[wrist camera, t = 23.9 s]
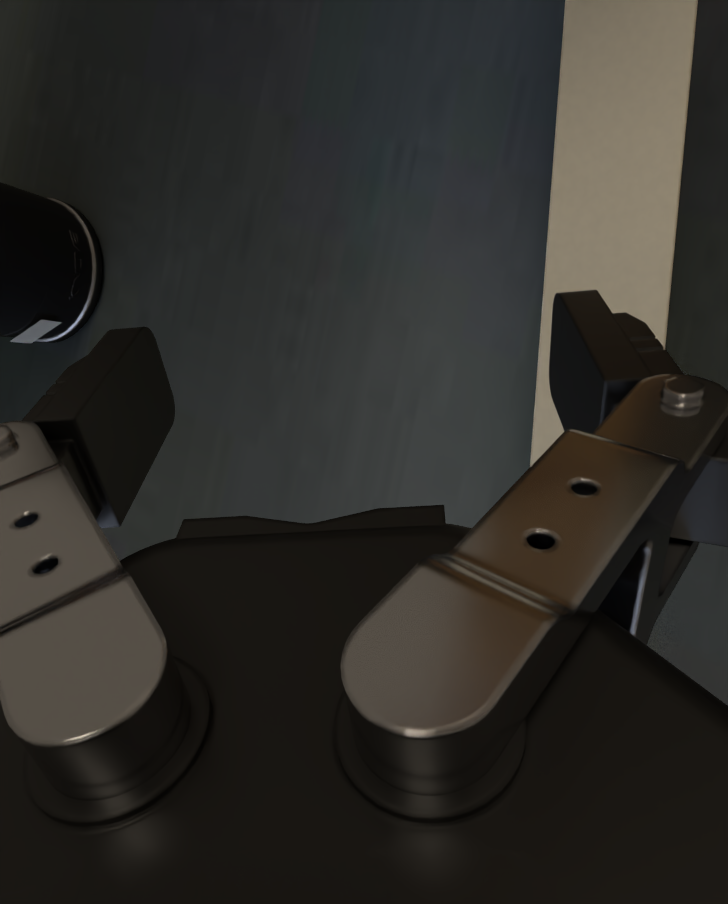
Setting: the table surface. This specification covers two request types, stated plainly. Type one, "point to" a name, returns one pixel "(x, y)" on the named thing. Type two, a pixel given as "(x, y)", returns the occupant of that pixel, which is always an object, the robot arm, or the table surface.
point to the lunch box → (615, 167)
